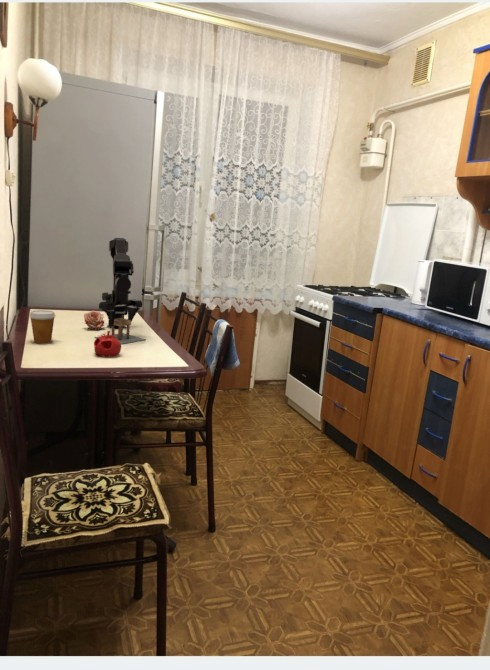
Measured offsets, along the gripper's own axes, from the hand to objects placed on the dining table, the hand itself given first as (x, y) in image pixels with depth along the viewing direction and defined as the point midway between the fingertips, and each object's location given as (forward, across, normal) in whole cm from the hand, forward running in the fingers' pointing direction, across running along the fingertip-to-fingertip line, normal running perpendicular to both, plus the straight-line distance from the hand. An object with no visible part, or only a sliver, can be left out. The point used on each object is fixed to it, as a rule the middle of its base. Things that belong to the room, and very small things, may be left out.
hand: (120, 324), depth 215 cm
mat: (+6, 0, 0) cm, 6 cm away
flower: (+6, -3, -22) cm, 23 cm away
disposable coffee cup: (+6, +28, -13) cm, 32 cm away
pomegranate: (+6, +20, +17) cm, 27 cm away
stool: (+6, 0, 0) cm, 6 cm away
